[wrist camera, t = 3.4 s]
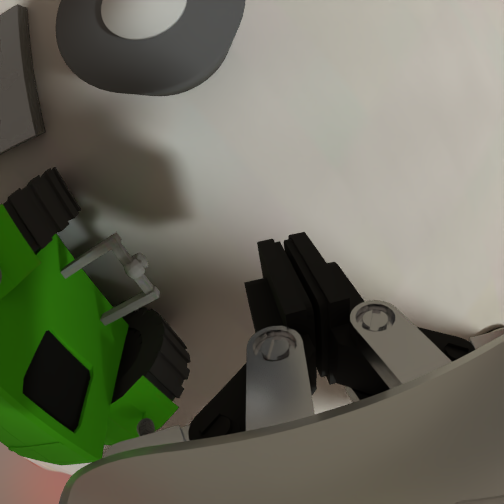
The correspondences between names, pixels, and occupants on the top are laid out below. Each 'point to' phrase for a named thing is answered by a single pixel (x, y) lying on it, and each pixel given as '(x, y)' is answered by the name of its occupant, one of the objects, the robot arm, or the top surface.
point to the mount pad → (17, 82)
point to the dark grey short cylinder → (146, 42)
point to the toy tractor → (75, 339)
